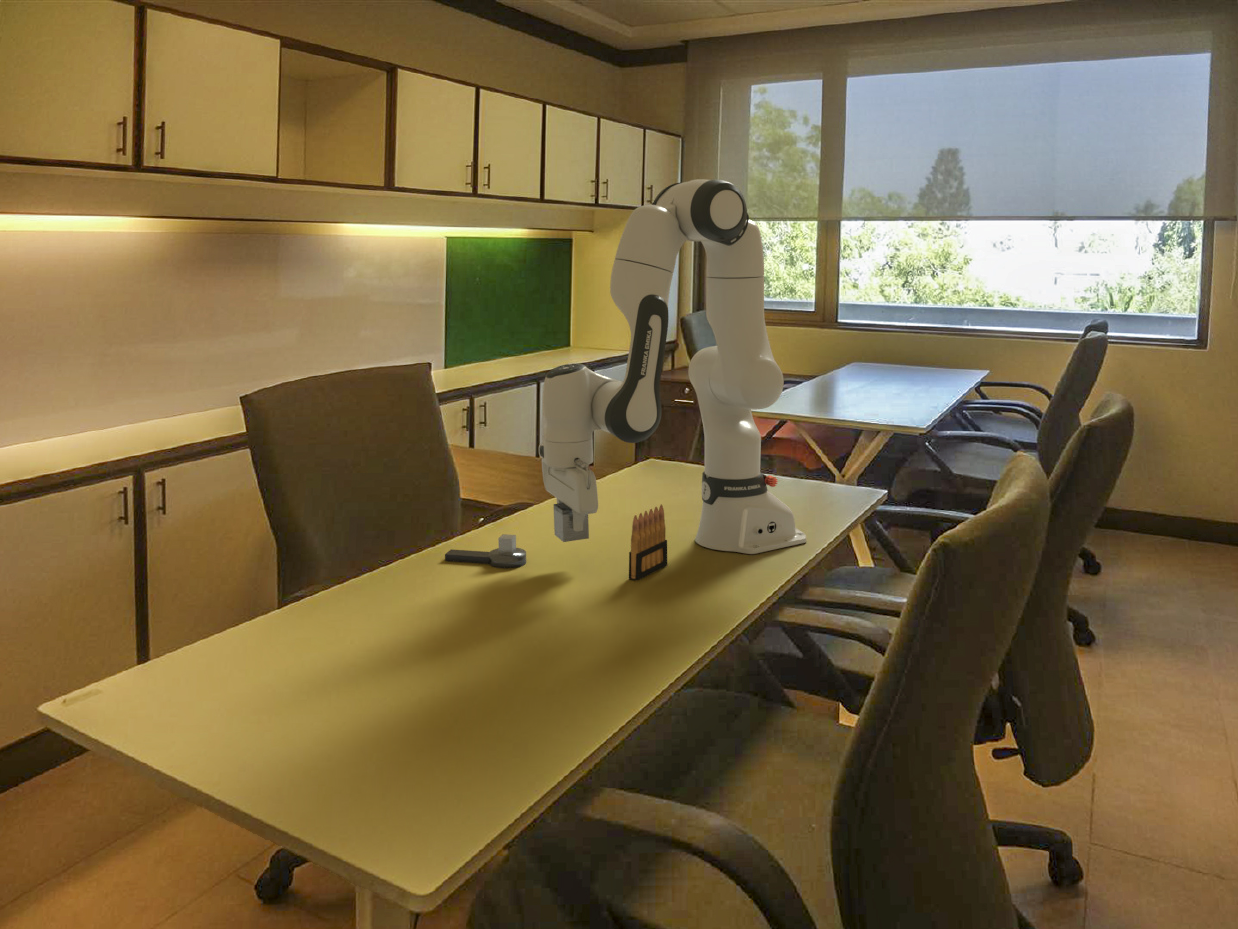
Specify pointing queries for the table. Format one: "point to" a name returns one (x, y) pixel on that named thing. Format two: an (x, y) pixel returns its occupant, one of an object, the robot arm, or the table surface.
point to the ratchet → (492, 555)
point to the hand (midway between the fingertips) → (571, 525)
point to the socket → (568, 524)
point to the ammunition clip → (648, 544)
